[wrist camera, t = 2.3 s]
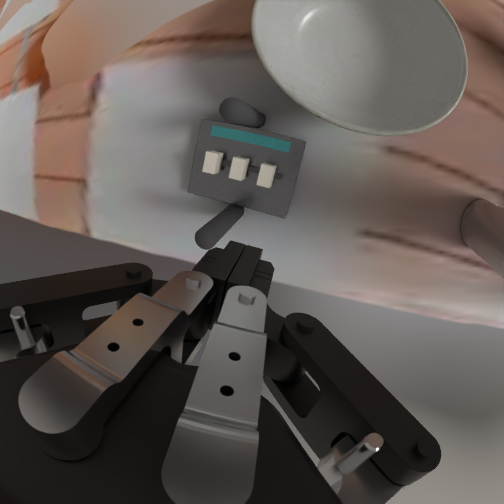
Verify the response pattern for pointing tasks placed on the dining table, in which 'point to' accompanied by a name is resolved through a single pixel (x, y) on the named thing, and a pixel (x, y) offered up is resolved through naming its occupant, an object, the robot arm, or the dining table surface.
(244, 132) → the panel
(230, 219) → the cord post
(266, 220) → the dining table surface
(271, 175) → the paddles
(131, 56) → the dining table surface
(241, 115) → the dark gray rounded rod
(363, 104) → the decorative bowl
